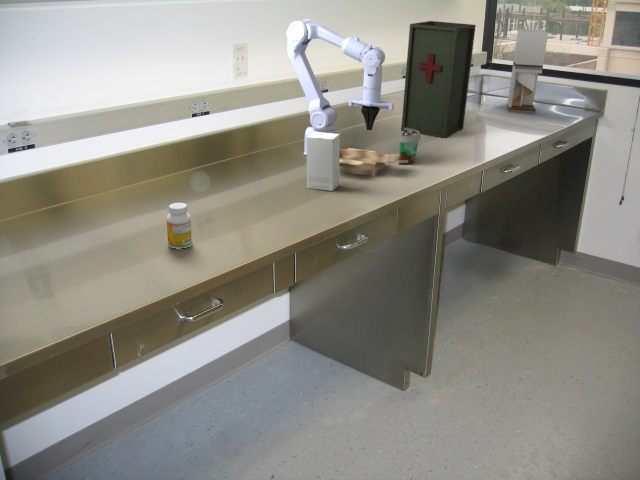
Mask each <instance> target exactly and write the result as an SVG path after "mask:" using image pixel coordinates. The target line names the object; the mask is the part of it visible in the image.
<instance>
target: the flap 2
mask: <svg viewBox="0 0 640 480" xmlns="http://www.w3.org/2000/svg"><path fill="white" fill-rule="evenodd" d="M384 154H385V153H384ZM400 156H401V154H400V153H395V154H394V153H390V154H388V153H387V154H385V155H384V156H383V157H382V158H381V159H380V160H379V161H378V163H385V164H393V163H396V161H397V160H399V157H400Z"/></svg>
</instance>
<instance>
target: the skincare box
mask: <svg viewBox="0 0 640 480" xmlns="http://www.w3.org/2000/svg"><path fill="white" fill-rule="evenodd" d="M340 137H341V134H340V133H335V132H334V133H323V132H313V133H312V134H310V135H309V136H308V137H307V155H306V188H307V189H312V190H322V191H329V192H333V191H334V190H336V189H337V187H338V186H339V185H340V172H339V156H340V146H341V145H340V140H341V138H340Z"/></svg>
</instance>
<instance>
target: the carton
mask: <svg viewBox="0 0 640 480" xmlns="http://www.w3.org/2000/svg"><path fill="white" fill-rule="evenodd" d="M384 155H385V153H378V151H374V150H366V149H359V148H358V149H357V148H352V147H351V148H350V147H347V149H346V148H340V156H339V158H341V159H349V160H356V161H363V162H365V163H364V164H363V165H361V166H358V165H351V164H344V163H339V173H346V174H352V175H358V176H359V175H360V176H367V177H372V178H373V177H375V176H377V175H378V173H379V172H381V170H383V168H385V165H386V163H378V161H379V160H380V159H381V158H382V157H383V156H384Z"/></svg>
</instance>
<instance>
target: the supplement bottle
mask: <svg viewBox="0 0 640 480" xmlns="http://www.w3.org/2000/svg"><path fill="white" fill-rule="evenodd" d="M168 212H169V214H167V216H166V230H167V231H166V232H167V233H166V234H167V244H168V246H169V248H170V247H171V249H172V248H176V249H175V250H182V249H181V248H186V249H188V248H187V247H189V248H190V247H191V246H192V245H193V234H192V218H191V214H189V213H188V204H187V203H185V202H174V203H171V204H169V205H168Z"/></svg>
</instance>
